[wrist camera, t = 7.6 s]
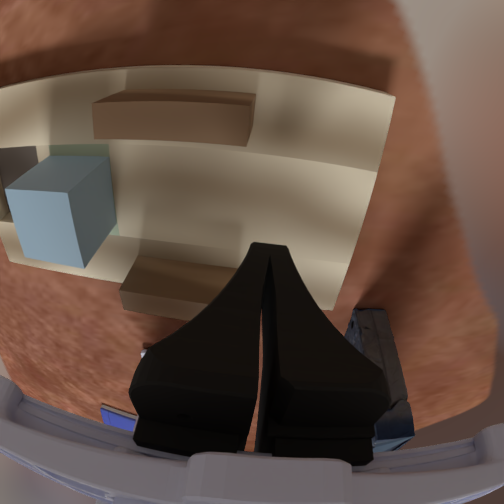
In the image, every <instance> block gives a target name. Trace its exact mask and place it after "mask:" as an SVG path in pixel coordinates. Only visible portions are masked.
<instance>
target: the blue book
mask: <svg viewBox="0 0 504 504" xmlns="http://www.w3.org/2000/svg"><path fill="white" fill-rule="evenodd" d="M101 414H102V418H103V421H104V424H107V425H110V426H114V427H117V428H121V429H124V430H128V431H132V432H133V429H134V425H135V422H136V418H137V416H135V415H132V414H128V413H125V412H123V411H120V410H117V409H114V408H111V407H108V406H106V405H103V404H102V406H101Z"/></svg>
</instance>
